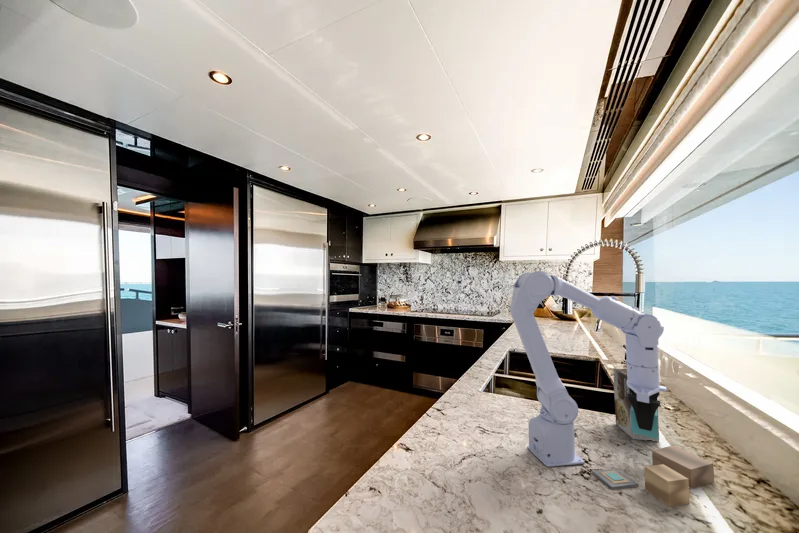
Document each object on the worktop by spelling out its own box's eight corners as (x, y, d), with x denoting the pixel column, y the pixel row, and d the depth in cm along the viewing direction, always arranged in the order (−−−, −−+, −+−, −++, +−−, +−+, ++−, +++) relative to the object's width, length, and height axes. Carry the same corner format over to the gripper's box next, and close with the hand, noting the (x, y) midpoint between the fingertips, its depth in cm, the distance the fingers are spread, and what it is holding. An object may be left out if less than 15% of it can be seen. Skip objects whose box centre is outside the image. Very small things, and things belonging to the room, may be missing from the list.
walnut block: (692, 490, 58) (690, 469, 59) (652, 468, 65) (651, 450, 65) (714, 483, 60) (713, 463, 61) (674, 463, 67) (673, 445, 67)
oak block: (669, 506, 54) (667, 481, 54) (645, 489, 58) (644, 466, 59) (689, 504, 54) (688, 478, 55) (664, 487, 59) (663, 464, 59)
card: (612, 489, 58) (611, 485, 58) (592, 473, 63) (592, 469, 63) (638, 486, 59) (638, 482, 59) (616, 470, 64) (616, 467, 64)
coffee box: (660, 442, 75) (658, 378, 76) (632, 439, 77) (630, 377, 78) (639, 425, 84) (637, 368, 85) (614, 423, 86) (612, 367, 87)
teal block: (658, 439, 64) (657, 415, 64) (631, 432, 67) (630, 409, 67) (658, 431, 67) (656, 408, 68) (632, 424, 70) (631, 403, 71)
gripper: (666, 375, 60) (670, 444, 59) (664, 361, 71) (667, 418, 70) (623, 369, 64) (626, 432, 64) (627, 356, 75) (630, 410, 75)
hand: (645, 424), depth 67 cm, fingers closed on teal block, 5 cm apart
